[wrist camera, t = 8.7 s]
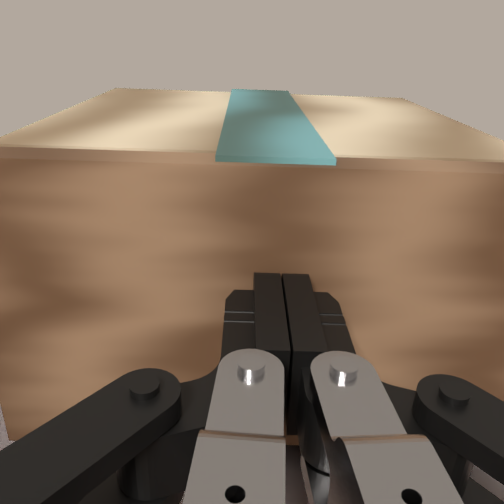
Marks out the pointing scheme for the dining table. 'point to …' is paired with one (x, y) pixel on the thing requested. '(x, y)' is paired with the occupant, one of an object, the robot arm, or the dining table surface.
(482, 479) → the dining table surface
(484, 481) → the dining table surface
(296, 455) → the dining table surface
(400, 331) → the lid
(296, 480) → the dining table surface
